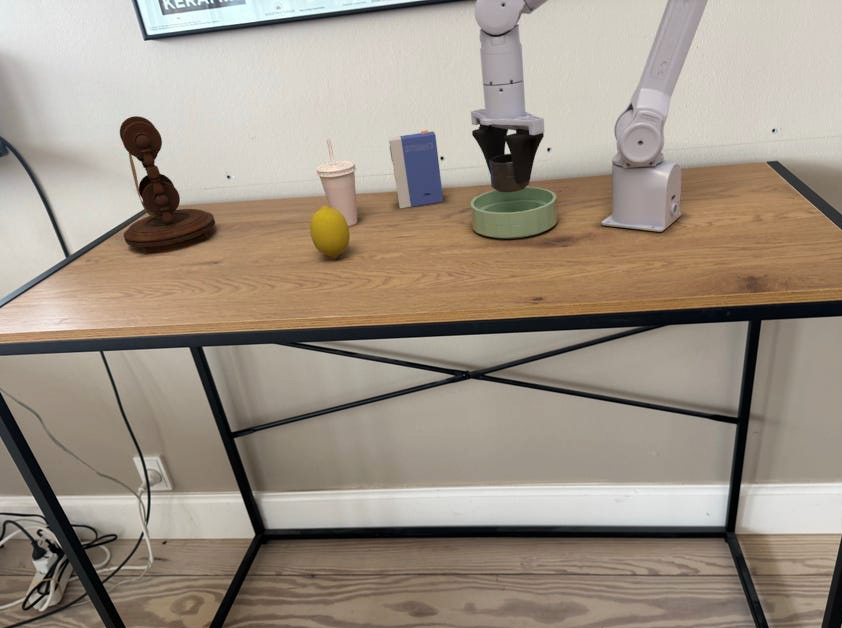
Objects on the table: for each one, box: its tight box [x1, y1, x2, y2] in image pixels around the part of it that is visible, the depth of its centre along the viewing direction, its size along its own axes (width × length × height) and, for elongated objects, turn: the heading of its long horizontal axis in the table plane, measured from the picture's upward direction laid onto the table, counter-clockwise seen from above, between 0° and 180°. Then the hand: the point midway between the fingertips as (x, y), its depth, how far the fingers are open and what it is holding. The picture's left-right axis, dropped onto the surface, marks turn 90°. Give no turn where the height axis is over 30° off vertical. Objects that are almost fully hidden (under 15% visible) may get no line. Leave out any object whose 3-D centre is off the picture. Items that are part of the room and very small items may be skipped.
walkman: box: [388, 129, 444, 209], centre depth 120 cm, size 8×3×12 cm, turn 99°
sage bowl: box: [470, 186, 558, 240], centre depth 107 cm, size 13×13×4 cm
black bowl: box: [489, 153, 530, 192], centre depth 103 cm, size 6×6×4 cm
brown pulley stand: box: [119, 115, 216, 255], centre depth 115 cm, size 15×15×20 cm
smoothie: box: [315, 138, 358, 227], centre depth 114 cm, size 6×6×14 cm
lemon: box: [309, 205, 350, 259], centre depth 101 cm, size 6×6×8 cm
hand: (509, 178), depth 104 cm, fingers closed on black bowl, 6 cm apart
